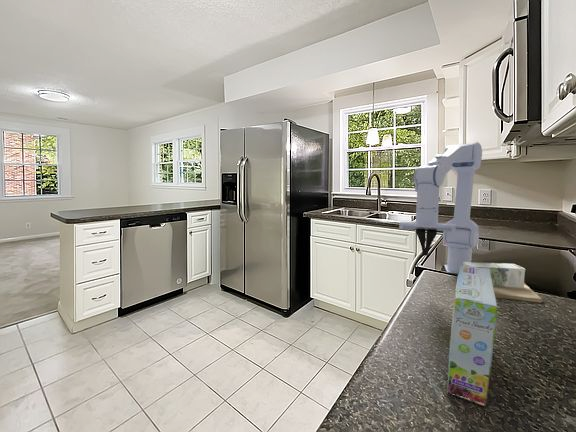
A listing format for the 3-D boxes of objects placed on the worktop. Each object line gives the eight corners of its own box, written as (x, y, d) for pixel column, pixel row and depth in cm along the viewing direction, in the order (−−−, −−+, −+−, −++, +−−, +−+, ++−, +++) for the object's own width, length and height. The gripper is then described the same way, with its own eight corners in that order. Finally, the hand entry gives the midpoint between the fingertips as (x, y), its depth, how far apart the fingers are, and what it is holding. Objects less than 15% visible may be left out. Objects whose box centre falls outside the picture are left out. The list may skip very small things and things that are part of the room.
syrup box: (461, 278, 92) (513, 281, 89) (469, 285, 86) (525, 288, 83) (462, 261, 91) (514, 263, 89) (470, 266, 85) (526, 268, 83)
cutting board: (469, 279, 94) (469, 276, 94) (523, 285, 88) (523, 282, 88) (478, 295, 81) (478, 291, 81) (541, 302, 76) (542, 299, 76)
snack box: (491, 411, 40) (499, 306, 38) (445, 395, 43) (451, 297, 41) (485, 340, 58) (490, 266, 56) (452, 333, 61) (456, 262, 59)
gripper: (399, 208, 82) (397, 255, 84) (458, 210, 77) (455, 260, 78) (400, 206, 89) (398, 250, 90) (454, 208, 83) (452, 254, 85)
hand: (425, 254), depth 85 cm, fingers closed
